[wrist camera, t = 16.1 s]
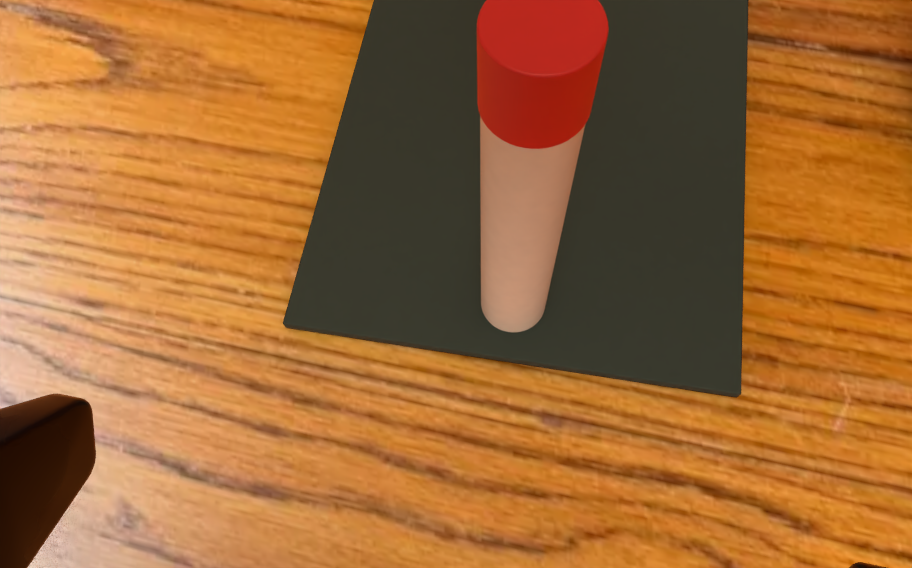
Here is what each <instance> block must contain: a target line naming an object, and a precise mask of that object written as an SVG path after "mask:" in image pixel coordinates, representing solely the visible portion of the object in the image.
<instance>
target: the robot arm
mask: <svg viewBox="0 0 912 568" xmlns="http://www.w3.org/2000/svg"><path fill="white" fill-rule="evenodd" d="M95 458H96V450H95V438H94V426H93V414H92V408H91V406H90V404H89V403H88V402H87V401H86V400H85V399H82V398H77V397H72V396H68V395H63V394H50V395H47V396H43V397H40V398H36V399H33V400H29V401H26V402H23V403H19V404H16V405H12V406H9V407H5V408H2V409H0V568H27V567H28V566H29V564H30V563H31V562H32V560H33V559H34V557H35V556H36V554H37V553H38V551H39V550H40V548H41V547H42V545H43V544H44V542H45V541H46V539H47V538H48V536H49V535H50V533H51V532H52V531H53V529H54V528H55V526H56V525H57V523H58V522H59V520H60V519H61V517H62V516H63V514H64V513H65V511H66V510H67V508H68V507H69V505H70V504H71V502H72V501H73V500H74V498H75V497H76V495H77V494H78V492H79V491H80V489H81V488H82V486H83V485H84V483H85V482H86V480H87V479H88V477H89V476H90V474H91V472H92V470H93V467H94V464H95ZM850 568H886V567H881V566H877V565H872V564H867V563H862V562H858V563H855V564H852V566H851V567H850Z"/></svg>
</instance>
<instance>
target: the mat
mask: <svg viewBox="0 0 912 568" xmlns="http://www.w3.org/2000/svg"><path fill="white" fill-rule="evenodd" d="M485 1H486V0H374V2H373V6H372V9H371V13H370V17H369V20H368V24H367V27H366V31H365V34H364V38H363V41H362V45H361V48H360V52H359V55H358V59H357V63H356V66H355V70H354V73H353V77H352V80H351V84H350V87H349V91H348V94H347V98H346V101H345V105H344V109H343V112H342V116H341V119H340V123H339V126H338V130H337V133H336V137H335V140H334V144H333V148H332V151H331V155H330V158H329V162H328V165H327V169H326V172H325V176H324V179H323V183H322V186H321V190H320V194H319V197H318V201H317V204H316V208H315V211H314V215H313V218H312V222H311V225H310V229H309V232H308V236H307V240H306V243H305V247H304V250H303V254H302V257H301V261H300V264H299V268H298V271H297V275H296V279H295V282H294V286H293V289H292V293H291V296H290V300H289V303H288V307H287V310H286V314H285V317H284V321H283V324H284V326H285V327H286V328H292V329H299V330H305V331H312V332H318V333H325V334H331V335H337V336H344V337H350V338H357V339H363V340H370V341H376V342H383V343H389V344H396V345H402V346H408V347H415V348H421V349H428V350H434V351H441V352H447V353H454V354H460V355H467V356H473V357H479V358H486V359H492V360H499V361H505V362H512V363H518V364H525V365H531V366H538V367H544V368H551V369H557V370H563V371H570V372H576V373H583V374H589V375H596V376H602V377H609V378H615V379H622V380H628V381H634V382H641V383H647V384H654V385H660V386H667V387H673V388H680V389H686V390H693V391H699V392H706V393H712V394H718V395H725V396H731V397H738V396H739V395H740V394H741V366H742V311H743V256H744V202H745V147H746V93H747V38H748V0H598V1H599V2H600V3H601V5H602V7H603V8H604V11H605V13H606V16H607V20H608V27H609V30H608V38H607V42H606V47H605V51H604V56H603V60H602V64H601V69H600V73H599V78H598V82H597V87H596V91H595V96H594V100H593V104H592V109H591V113H590V116H589V118H588V121H587V122H586V124H585V128H584V132H583V137H582V141H581V146H580V151H579V155H578V160H577V164H576V169H575V173H574V178H573V182H572V187H571V192H570V196H569V201H568V205H567V210H566V214H565V219H564V223H563V228H562V233H561V237H560V242H559V246H558V251H557V255H556V260H555V264H554V269H553V274H552V278H551V283H550V287H549V292H548V296H547V301H546V305H545V310H544V313H543V315H542V317H541V319H540V320H539V321H538V322H537V323H536V324H535V325H534V326H533V327H531V328H529V329H528V330H525V331H521V332H506V331H502V330H500V329H498V328H496V327H494V326H493V325H492V324H491V323H490V322H489V321H488V320H487V319H486V317H485V316H484V314H483V311H482V308H481V187H480V113H479V110H478V104H477V19H478V15H479V12H480V10H481V8H482V6H483V4H484V3H485Z"/></svg>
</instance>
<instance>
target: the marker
mask: <svg viewBox="0 0 912 568" xmlns="http://www.w3.org/2000/svg"><path fill="white" fill-rule="evenodd" d="M608 30H609V27H608V20H607V16H606V13H605V11H604V8H603V7H602V5H601V3H600V2H599V1H598V0H486V1H485V3H484V4H483V6H482V8H481V10H480V12H479V15H478V19H477V104H478V110H479V113H480V187H481V308H482V311H483V314H484V316H485V317H486V319H487V320H488V321H489V322H490V323H491V324H492V325H493V326H494V327H496V328H498V329H500V330H502V331H506V332H521V331H525V330H528V329H529V328H531V327H533V326H534V325H535V324H536V323H537V322H538V321H539V320H540V319H541V317H542V315H543V313H544V310H545V305H546V301H547V296H548V292H549V287H550V283H551V278H552V274H553V269H554V264H555V260H556V255H557V251H558V246H559V242H560V237H561V233H562V228H563V223H564V219H565V214H566V210H567V205H568V201H569V196H570V192H571V187H572V182H573V178H574V173H575V169H576V164H577V160H578V155H579V151H580V146H581V141H582V137H583V132H584V128H585V124H586V122H587V121H588V118H589V116H590V113H591V109H592V104H593V100H594V96H595V91H596V87H597V82H598V78H599V73H600V69H601V64H602V60H603V56H604V51H605V47H606V42H607V38H608Z"/></svg>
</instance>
